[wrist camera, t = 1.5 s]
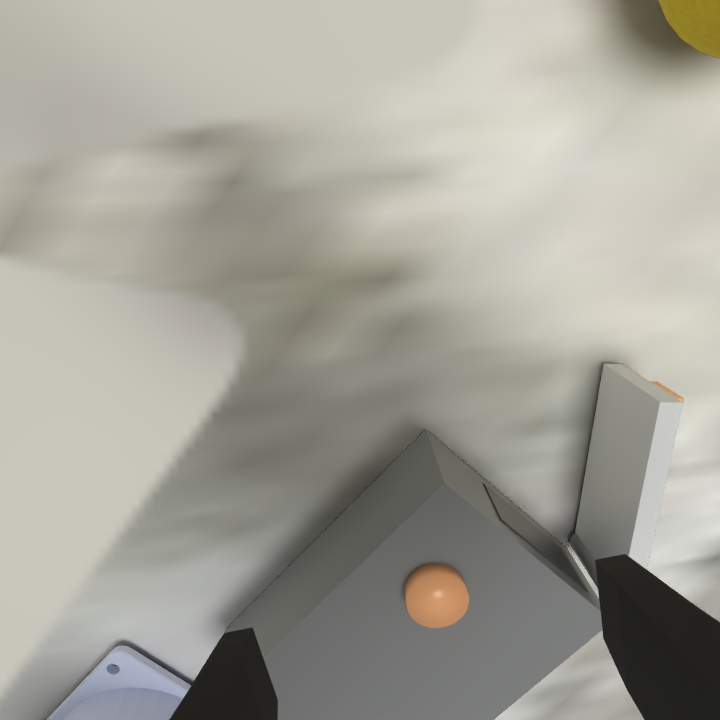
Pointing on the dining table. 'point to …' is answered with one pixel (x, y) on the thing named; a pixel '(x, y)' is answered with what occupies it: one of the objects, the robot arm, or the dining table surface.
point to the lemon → (695, 23)
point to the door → (625, 467)
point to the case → (422, 602)
